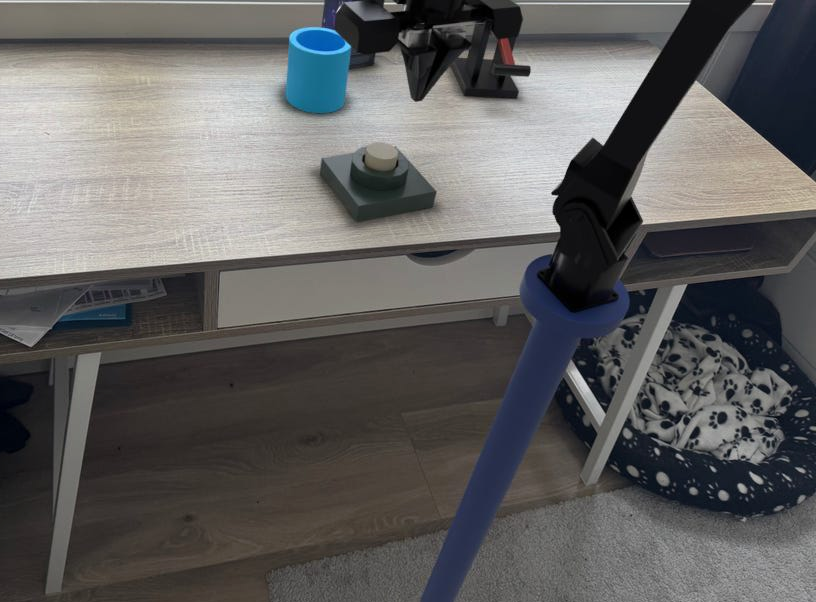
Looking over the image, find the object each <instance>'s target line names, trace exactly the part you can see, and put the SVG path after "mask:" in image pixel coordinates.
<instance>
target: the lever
mask: <svg viewBox="0 0 816 602" xmlns="http://www.w3.org/2000/svg"><path fill="white" fill-rule="evenodd" d="M490 35H491V36H493V34H492V33H491V31H490ZM490 35H489V36H490ZM496 40H497V42H498V44H499V48H500V52H501V55H502V59H503V63H504V64H493V65H492V75H505V76H511V77H524V78H525V77H526V78H528V77H530V75H531V71H532V69H531V68H532V67H531V66H530V65H525V64H516V63H515V59H514V55H513V52H512V51H511V48H510V44H509V41H508V38H505V39H496Z"/></svg>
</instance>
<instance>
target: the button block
mask: <svg viewBox="0 0 816 602" xmlns="http://www.w3.org/2000/svg"><path fill="white" fill-rule="evenodd" d="M393 146H394V145H393ZM394 147H395V148H396V149H397V150H398V157H397V162H396V167H395V168H394V170H392V171H386V172H384V171H377V170H373V169H371V168H369V167H367V166H366V165H365V155H366V148H367V146H362V147H360V148H358V149H357V150H355V151H354V152H351V153H344V154H338V155H331V156H325V157H321V160H320V170H319V175H320V176H321V178H322V179H323V180H324V181H325V183H326V184H327V186H328V187H329V188H330V190H331V191H332V192H333V193H334V194H335V196H336V197H337V198H338V199H339V201H340V202H341V204H342V205H343V207H344V208H345V209H346V211H347V212H348V214H349V215H350V216H351V217H352V219H353V220H354V221H355V222H356V223H359V222H365V221H370V220H375V219H381V218H384V217H391V216H394V215H399V214H404V213H405V214H406V213H410V212H415V211H420V210H426V209H430V208H434V204H435V200H436V197H437V190H436V189H435V188H434V187H433V185H431V184H430V182H429V181H428V180H427V179H426V178H425V177H424V175H422V173H421V172H420V171H419V170H418V169H417V167H416V166H414V165H413V164H412V162H410V160H409V159H408V158H407V157H406V156H405V155H404V154H403V153H402V151H401V150H400V149H399V148H398V147H397V146H396V145H395V146H394Z"/></svg>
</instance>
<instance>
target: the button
mask: <svg viewBox="0 0 816 602" xmlns="http://www.w3.org/2000/svg"><path fill="white" fill-rule="evenodd" d="M366 147H367V148H366V155H365V165H366V166H367V167H369V168H371V169H373V170H377V171H384V172H386V171H392V170H394V168H395V167H396V162H397V157H398V150H397V149H396V148H395V147H394V145H392V144H390V143H387V142H383V141H376V142H371V143H369V144H368V145H367V146H366Z"/></svg>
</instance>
